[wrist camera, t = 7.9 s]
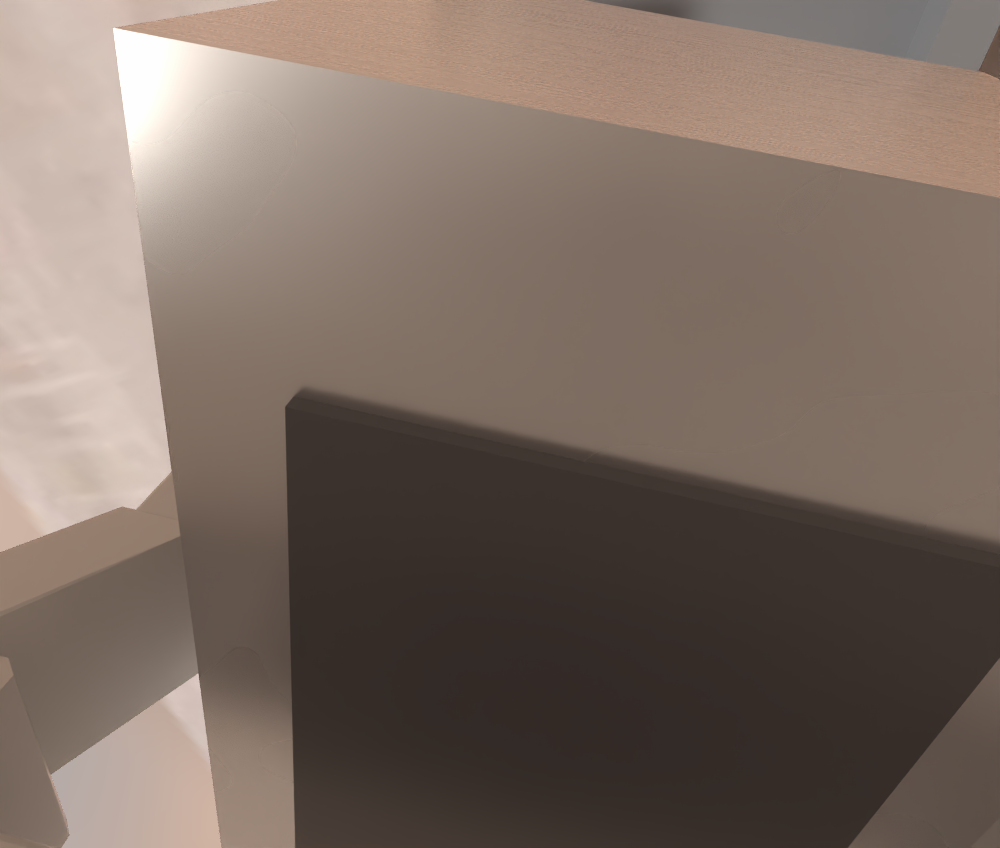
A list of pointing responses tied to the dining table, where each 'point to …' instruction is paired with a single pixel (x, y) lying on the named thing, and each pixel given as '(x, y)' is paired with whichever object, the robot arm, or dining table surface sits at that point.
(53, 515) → the dining table surface
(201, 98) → the block
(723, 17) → the pin tray
